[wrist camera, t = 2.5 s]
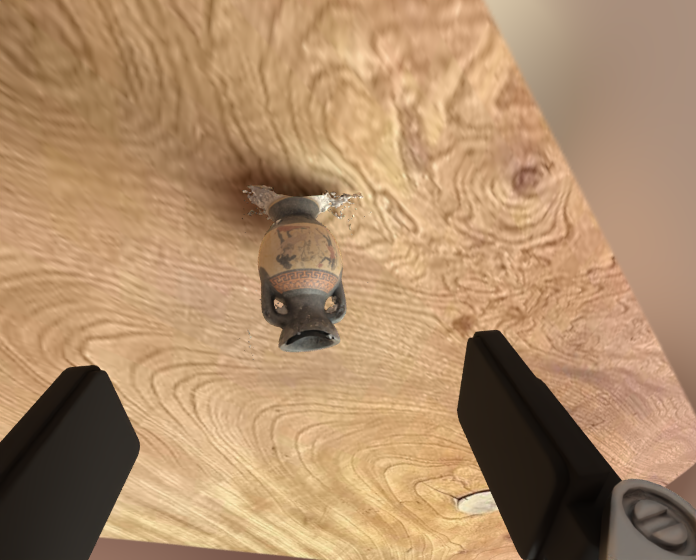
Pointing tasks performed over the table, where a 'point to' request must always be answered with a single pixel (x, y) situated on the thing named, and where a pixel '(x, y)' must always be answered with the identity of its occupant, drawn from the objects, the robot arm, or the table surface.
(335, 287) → the vase
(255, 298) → the table surface
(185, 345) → the table surface
